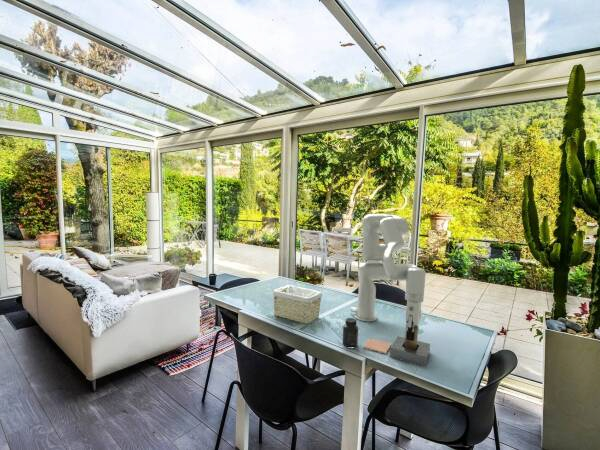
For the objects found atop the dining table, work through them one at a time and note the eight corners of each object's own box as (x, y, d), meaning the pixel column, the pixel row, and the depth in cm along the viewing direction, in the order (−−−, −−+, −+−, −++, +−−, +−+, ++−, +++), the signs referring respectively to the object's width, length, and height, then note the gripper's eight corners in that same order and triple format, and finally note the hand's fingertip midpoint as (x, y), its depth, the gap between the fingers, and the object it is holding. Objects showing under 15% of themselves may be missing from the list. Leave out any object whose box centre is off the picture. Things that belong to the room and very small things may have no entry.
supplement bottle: (340, 342, 144) (342, 316, 143) (355, 342, 144) (356, 317, 143) (344, 349, 137) (345, 322, 136) (359, 349, 137) (360, 322, 136)
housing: (389, 356, 132) (390, 347, 131) (397, 344, 144) (397, 335, 143) (424, 366, 125) (425, 357, 124) (429, 352, 137) (430, 344, 136)
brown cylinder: (403, 348, 133) (404, 326, 132) (405, 344, 137) (407, 322, 137) (415, 352, 131) (417, 329, 130) (417, 347, 135) (419, 325, 134)
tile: (363, 348, 138) (363, 346, 138) (370, 340, 147) (370, 338, 147) (385, 354, 133) (385, 352, 133) (391, 345, 142) (391, 343, 142)
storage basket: (270, 315, 173) (271, 289, 172) (287, 307, 187) (288, 283, 186) (307, 326, 160) (308, 298, 159) (322, 317, 174) (323, 291, 173)
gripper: (420, 303, 123) (416, 347, 124) (426, 293, 138) (423, 332, 139) (400, 299, 127) (397, 342, 128) (409, 290, 142) (406, 328, 143)
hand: (411, 337), depth 134 cm, fingers closed on brown cylinder, 5 cm apart
